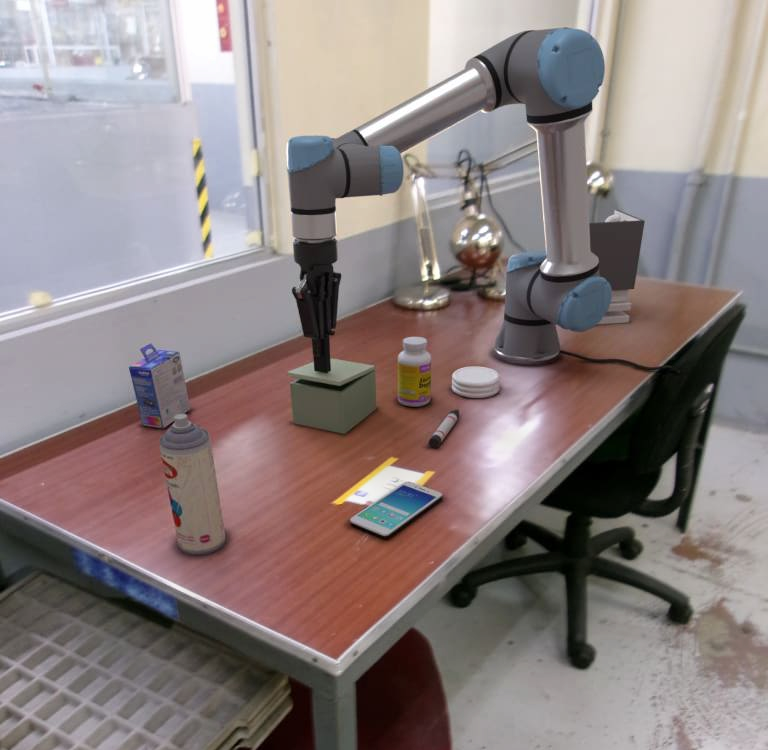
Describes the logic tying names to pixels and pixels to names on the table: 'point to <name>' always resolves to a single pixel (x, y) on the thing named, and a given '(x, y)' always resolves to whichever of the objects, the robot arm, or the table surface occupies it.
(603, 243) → the stack of books
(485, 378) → the coaster
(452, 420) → the marker
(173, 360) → the ink cartridge box
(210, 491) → the aerosol can
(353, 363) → the lid
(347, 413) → the chest
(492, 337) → the table surface
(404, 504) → the smartphone
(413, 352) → the supplement bottle
